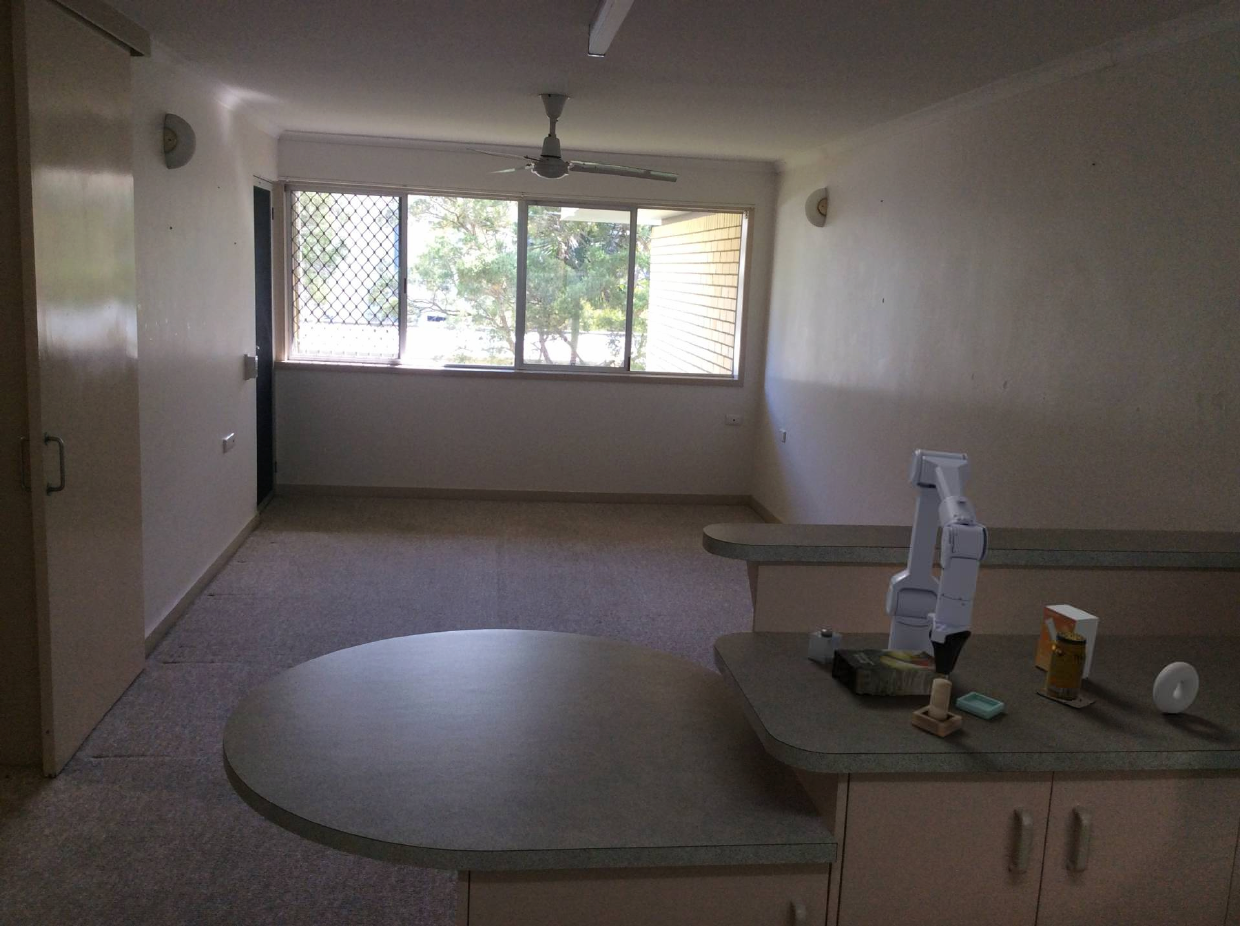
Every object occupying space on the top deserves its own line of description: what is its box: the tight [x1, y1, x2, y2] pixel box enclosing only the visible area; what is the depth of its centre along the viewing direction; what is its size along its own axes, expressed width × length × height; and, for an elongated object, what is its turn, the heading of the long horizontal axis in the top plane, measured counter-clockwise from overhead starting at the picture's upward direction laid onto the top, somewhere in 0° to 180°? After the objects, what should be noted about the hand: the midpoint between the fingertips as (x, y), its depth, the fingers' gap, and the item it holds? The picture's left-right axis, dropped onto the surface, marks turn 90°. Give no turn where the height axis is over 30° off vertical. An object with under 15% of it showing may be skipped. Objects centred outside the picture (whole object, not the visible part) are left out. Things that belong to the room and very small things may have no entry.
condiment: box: [1044, 632, 1087, 701], centre depth 187 cm, size 7×8×12 cm
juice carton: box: [830, 648, 949, 697], centre depth 187 cm, size 20×10×6 cm, turn 103°
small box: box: [1034, 604, 1100, 678], centre depth 200 cm, size 8×6×13 cm
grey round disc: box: [1152, 661, 1200, 714], centre depth 185 cm, size 10×3×10 cm, turn 115°
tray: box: [955, 691, 1005, 720], centre depth 180 cm, size 6×6×2 cm
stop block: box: [806, 627, 843, 665], centre depth 197 cm, size 5×4×6 cm
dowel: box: [928, 679, 953, 723], centre depth 171 cm, size 3×3×8 cm
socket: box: [910, 704, 963, 738], centre depth 171 cm, size 6×6×2 cm
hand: (944, 671), depth 170 cm, fingers closed
